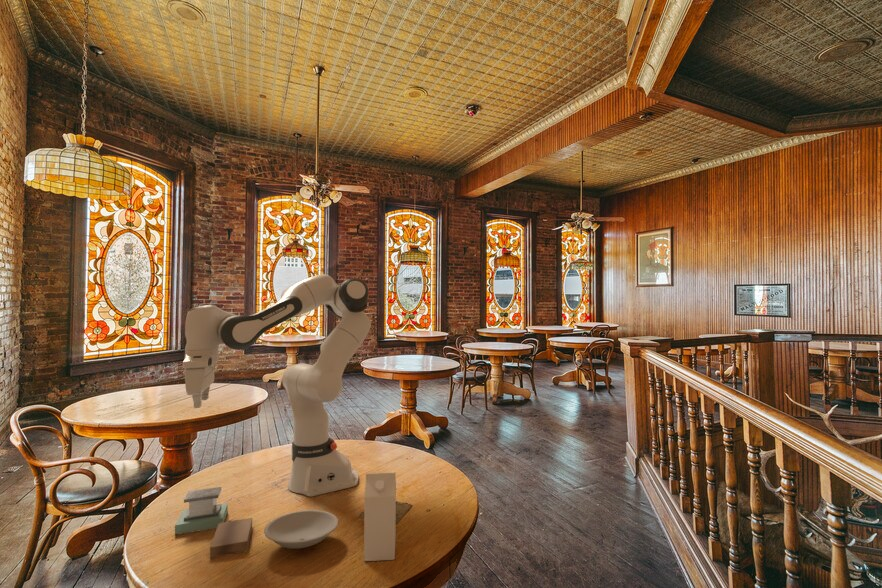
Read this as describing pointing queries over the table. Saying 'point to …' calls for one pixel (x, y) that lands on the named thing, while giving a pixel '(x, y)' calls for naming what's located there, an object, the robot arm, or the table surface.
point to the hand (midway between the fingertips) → (201, 403)
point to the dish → (301, 528)
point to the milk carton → (379, 516)
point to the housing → (202, 503)
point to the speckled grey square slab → (397, 510)
